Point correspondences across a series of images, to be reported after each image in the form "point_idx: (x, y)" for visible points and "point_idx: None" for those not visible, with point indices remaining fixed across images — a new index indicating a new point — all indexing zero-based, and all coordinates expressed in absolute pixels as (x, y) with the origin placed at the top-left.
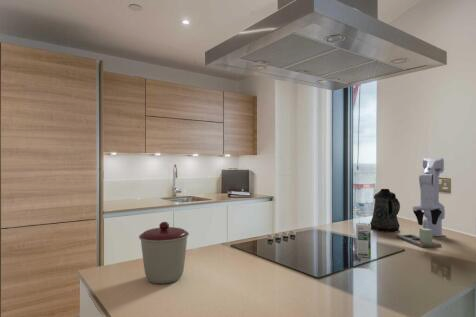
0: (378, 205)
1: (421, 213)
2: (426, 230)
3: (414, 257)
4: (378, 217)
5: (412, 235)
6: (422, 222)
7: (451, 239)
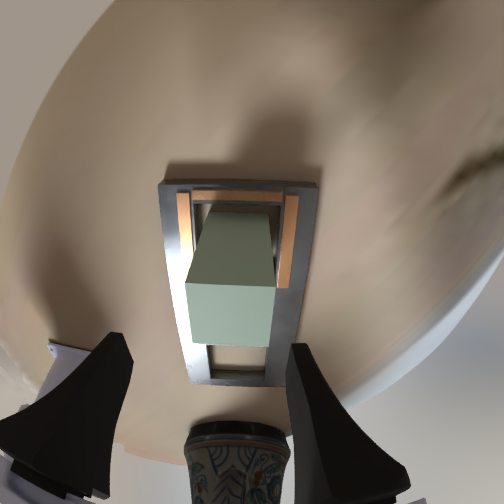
0: None
1: (383, 473)
2: (257, 284)
3: (489, 57)
4: (279, 479)
5: (204, 373)
6: (302, 366)
7: (42, 300)
